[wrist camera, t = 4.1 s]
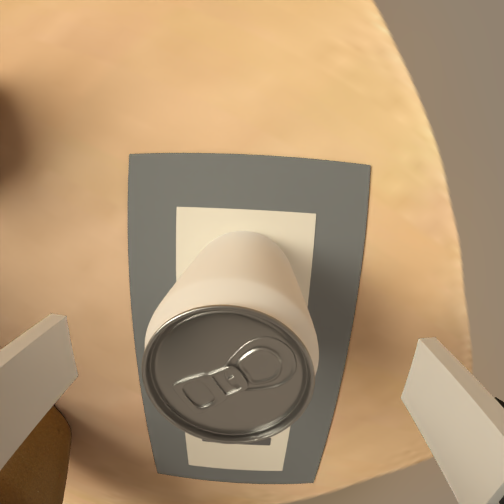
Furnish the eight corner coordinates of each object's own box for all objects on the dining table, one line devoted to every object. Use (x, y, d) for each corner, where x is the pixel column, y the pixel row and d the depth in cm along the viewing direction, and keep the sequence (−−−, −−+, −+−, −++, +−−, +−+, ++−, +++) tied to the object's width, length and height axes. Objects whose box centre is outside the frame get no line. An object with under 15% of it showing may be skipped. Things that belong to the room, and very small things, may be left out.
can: (308, 295, 21) (356, 409, 10) (226, 337, 22) (201, 467, 10) (261, 210, 20) (266, 249, 9) (176, 259, 21) (93, 344, 9)
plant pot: (-23, 363, 24) (-105, 433, 9) (59, 357, 23) (-48, 472, 8) (37, 458, 27) (-15, 537, 12) (126, 470, 26) (81, 584, 11)
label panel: (157, 472, 26) (157, 473, 26) (129, 154, 20) (128, 154, 20) (313, 482, 26) (313, 483, 26) (370, 165, 20) (370, 165, 19)
